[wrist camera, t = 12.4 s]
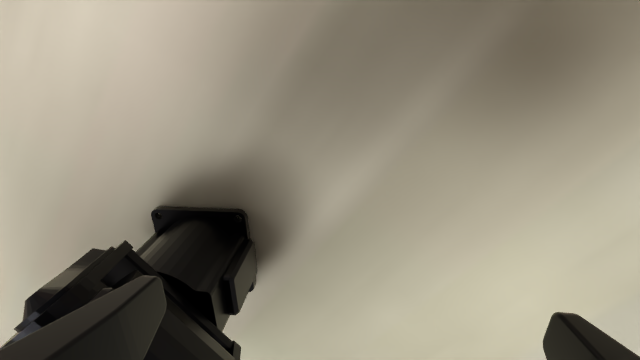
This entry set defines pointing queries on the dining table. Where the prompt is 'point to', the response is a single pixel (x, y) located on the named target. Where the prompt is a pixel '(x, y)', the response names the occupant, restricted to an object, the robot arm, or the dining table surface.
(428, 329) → the dining table surface
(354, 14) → the dining table surface
